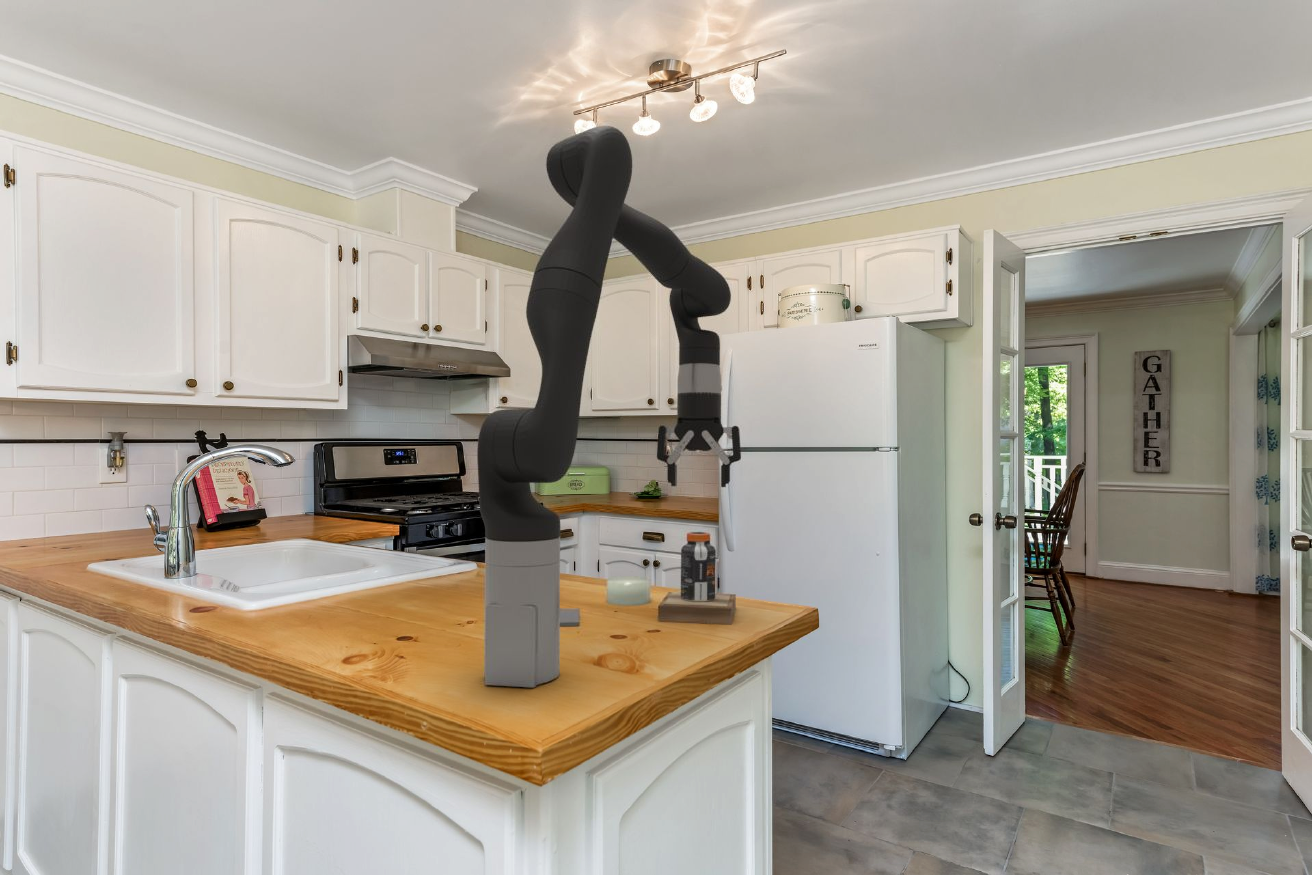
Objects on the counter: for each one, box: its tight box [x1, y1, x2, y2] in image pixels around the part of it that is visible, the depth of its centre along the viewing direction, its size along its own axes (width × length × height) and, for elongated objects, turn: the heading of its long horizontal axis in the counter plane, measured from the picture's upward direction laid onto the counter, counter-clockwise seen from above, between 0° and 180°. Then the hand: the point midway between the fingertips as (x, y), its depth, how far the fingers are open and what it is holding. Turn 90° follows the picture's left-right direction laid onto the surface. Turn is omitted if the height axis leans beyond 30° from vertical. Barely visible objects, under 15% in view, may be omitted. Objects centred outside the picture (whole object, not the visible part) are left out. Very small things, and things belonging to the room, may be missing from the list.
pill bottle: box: [680, 531, 717, 602], centre depth 127 cm, size 6×6×11 cm
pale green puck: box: [606, 576, 651, 607], centre depth 138 cm, size 8×8×4 cm
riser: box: [657, 591, 737, 625], centre depth 127 cm, size 12×12×3 cm
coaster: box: [560, 608, 580, 627], centre depth 123 cm, size 10×10×1 cm
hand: (698, 486), depth 127 cm, fingers open, 8 cm apart
